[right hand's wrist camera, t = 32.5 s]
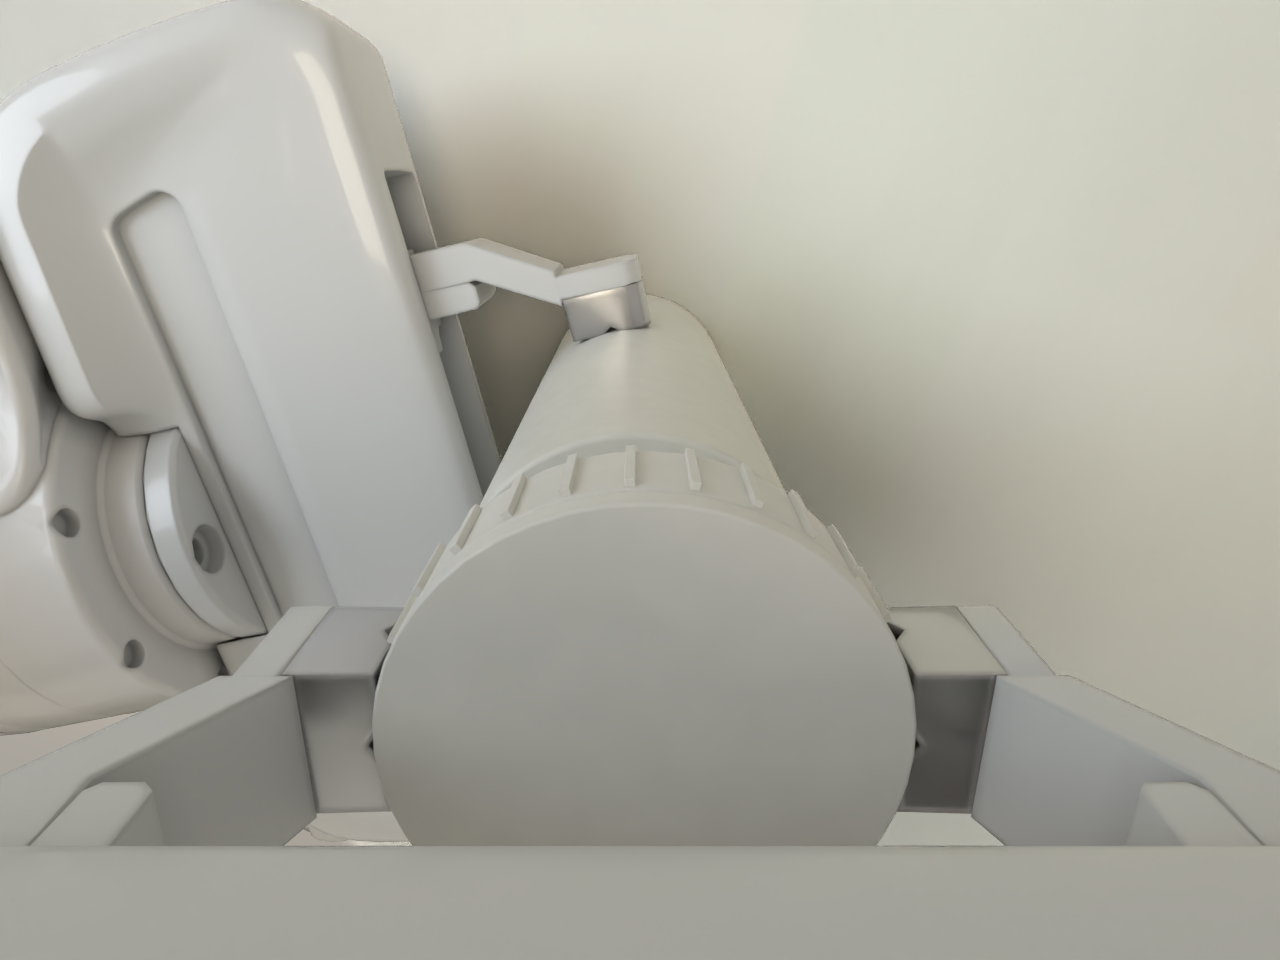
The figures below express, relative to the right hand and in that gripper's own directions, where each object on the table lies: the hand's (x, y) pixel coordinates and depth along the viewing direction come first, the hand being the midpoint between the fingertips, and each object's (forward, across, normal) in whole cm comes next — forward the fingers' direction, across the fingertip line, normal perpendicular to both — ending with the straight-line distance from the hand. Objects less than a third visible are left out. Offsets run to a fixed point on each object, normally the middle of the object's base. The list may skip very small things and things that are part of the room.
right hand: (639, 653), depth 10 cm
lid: (-2, 0, 0) cm, 2 cm away
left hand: (+10, -1, 0) cm, 10 cm away
